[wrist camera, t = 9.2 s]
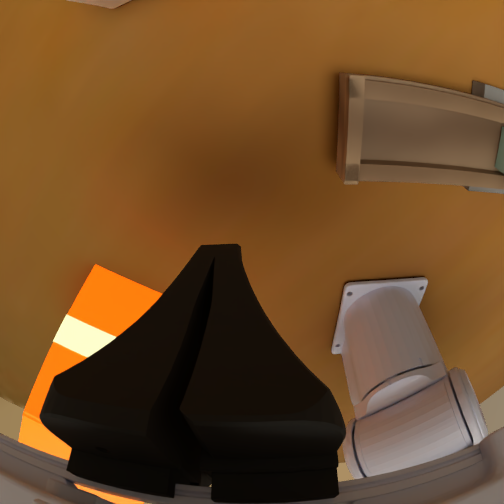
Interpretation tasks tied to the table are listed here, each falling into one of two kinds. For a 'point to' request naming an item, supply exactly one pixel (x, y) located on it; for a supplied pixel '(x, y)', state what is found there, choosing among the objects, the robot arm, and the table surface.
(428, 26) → the table surface
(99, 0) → the container
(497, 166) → the block
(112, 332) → the orange juice
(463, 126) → the beam
